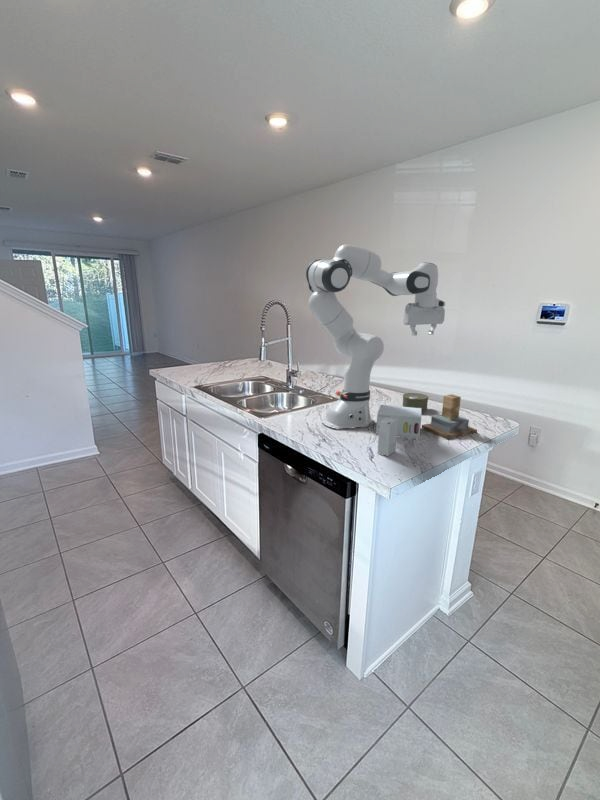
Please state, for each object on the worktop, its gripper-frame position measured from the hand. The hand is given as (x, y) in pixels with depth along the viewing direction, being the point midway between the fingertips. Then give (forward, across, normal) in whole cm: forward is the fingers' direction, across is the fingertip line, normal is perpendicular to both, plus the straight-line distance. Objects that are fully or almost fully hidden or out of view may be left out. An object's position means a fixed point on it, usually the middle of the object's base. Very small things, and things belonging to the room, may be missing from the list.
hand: (422, 334), depth 163 cm
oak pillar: (+31, -3, -23) cm, 39 cm away
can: (+37, +5, +7) cm, 38 cm away
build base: (+37, -3, -23) cm, 44 cm away
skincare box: (+37, -40, -31) cm, 63 cm away
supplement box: (+38, -22, -15) cm, 46 cm away
